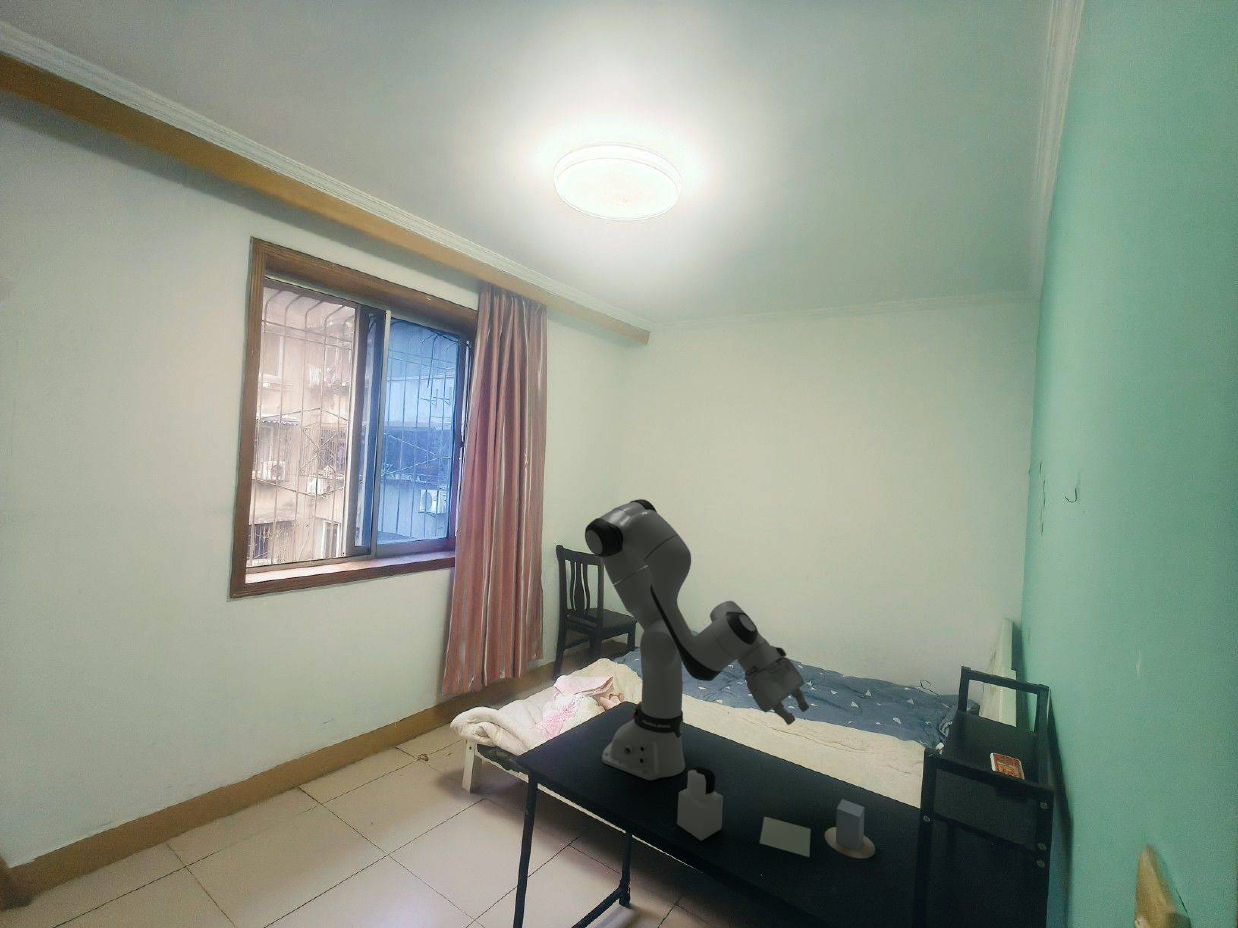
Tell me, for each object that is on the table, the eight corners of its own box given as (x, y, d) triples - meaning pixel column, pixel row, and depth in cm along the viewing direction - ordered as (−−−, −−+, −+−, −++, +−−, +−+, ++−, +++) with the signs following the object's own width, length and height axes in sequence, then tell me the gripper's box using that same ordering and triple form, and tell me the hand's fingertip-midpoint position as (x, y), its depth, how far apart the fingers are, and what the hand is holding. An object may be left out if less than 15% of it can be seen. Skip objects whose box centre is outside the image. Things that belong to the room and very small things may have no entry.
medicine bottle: (697, 812, 123) (699, 759, 123) (722, 828, 117) (724, 773, 118) (676, 824, 118) (679, 769, 118) (701, 841, 113) (703, 783, 113)
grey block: (835, 842, 114) (836, 808, 115) (841, 831, 118) (842, 798, 118) (858, 852, 112) (859, 816, 112) (863, 841, 115) (864, 807, 116)
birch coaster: (824, 850, 112) (824, 849, 112) (824, 823, 121) (824, 822, 121) (877, 864, 108) (877, 863, 108) (872, 835, 118) (872, 834, 118)
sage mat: (759, 843, 113) (759, 842, 113) (764, 817, 122) (764, 816, 122) (809, 857, 109) (809, 856, 109) (810, 829, 119) (810, 828, 119)
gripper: (751, 665, 119) (793, 723, 113) (785, 646, 135) (823, 696, 129) (732, 680, 122) (772, 738, 115) (767, 660, 138) (804, 709, 131)
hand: (799, 716), depth 122 cm, fingers open, 8 cm apart
